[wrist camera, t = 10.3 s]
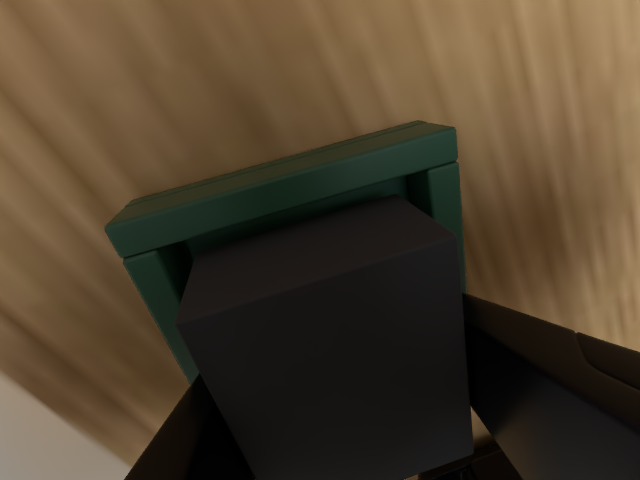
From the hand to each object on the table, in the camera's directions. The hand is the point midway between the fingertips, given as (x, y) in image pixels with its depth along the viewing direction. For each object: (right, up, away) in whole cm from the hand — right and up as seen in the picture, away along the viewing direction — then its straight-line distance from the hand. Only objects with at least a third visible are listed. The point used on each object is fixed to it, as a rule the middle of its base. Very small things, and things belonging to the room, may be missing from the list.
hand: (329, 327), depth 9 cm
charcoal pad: (0, 0, 0) cm, 0 cm away
